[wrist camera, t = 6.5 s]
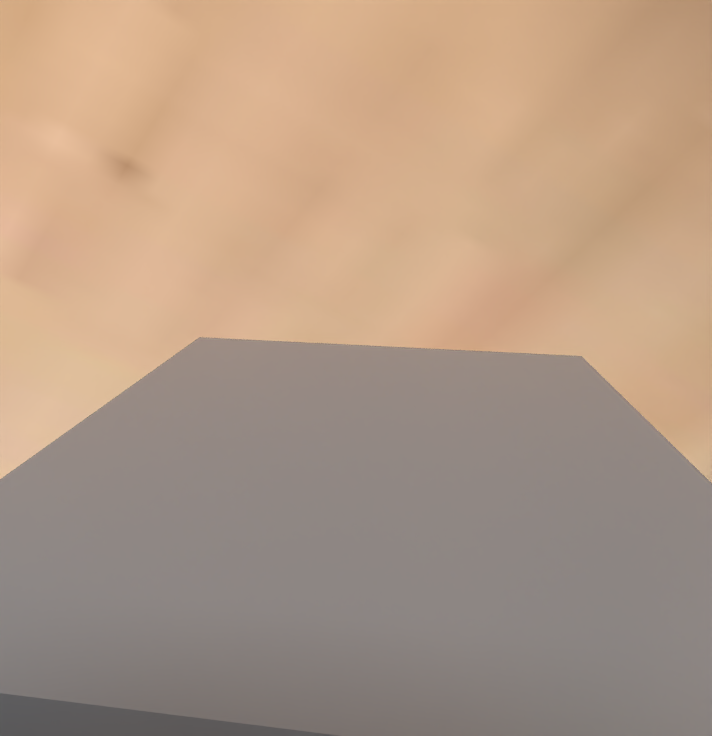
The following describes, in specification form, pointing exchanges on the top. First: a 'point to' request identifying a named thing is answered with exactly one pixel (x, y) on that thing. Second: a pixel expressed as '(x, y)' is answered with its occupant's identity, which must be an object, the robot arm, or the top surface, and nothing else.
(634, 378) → the top surface
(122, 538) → the gray rectangular platform
